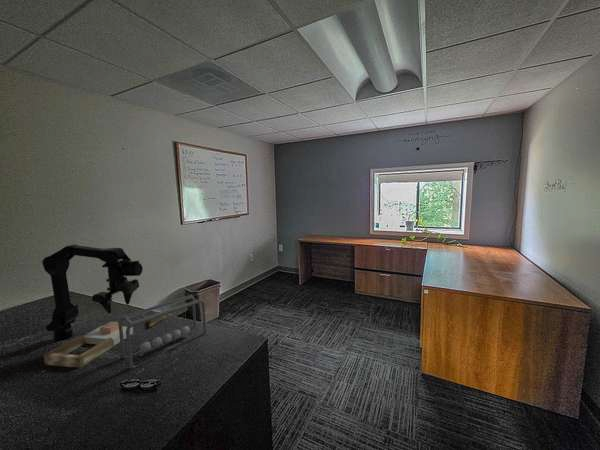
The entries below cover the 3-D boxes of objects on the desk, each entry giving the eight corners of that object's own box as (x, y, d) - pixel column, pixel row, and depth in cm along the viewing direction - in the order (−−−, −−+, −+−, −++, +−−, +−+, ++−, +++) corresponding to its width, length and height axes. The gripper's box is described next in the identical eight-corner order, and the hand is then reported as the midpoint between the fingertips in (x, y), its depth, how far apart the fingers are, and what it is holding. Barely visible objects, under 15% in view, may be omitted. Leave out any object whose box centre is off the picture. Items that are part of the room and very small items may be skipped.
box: (44, 364, 93) (43, 354, 93) (81, 343, 106) (80, 335, 106) (80, 368, 91) (79, 358, 90) (113, 346, 104) (112, 337, 104)
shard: (149, 328, 118) (149, 324, 118) (136, 326, 120) (136, 322, 120) (167, 318, 128) (166, 314, 128) (155, 316, 130) (155, 313, 130)
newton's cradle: (130, 372, 88) (125, 326, 86) (121, 360, 95) (117, 317, 93) (207, 336, 111) (204, 299, 109) (195, 328, 118) (193, 293, 116)
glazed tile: (100, 332, 109) (99, 327, 109) (111, 326, 115) (110, 321, 115) (110, 333, 109) (110, 328, 108) (121, 327, 114) (120, 322, 114)
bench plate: (82, 343, 107) (81, 336, 107) (103, 331, 117) (103, 325, 116) (114, 345, 104) (113, 339, 104) (133, 333, 114) (132, 327, 114)
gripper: (112, 284, 100) (115, 320, 102) (147, 271, 118) (149, 301, 120) (89, 282, 102) (92, 317, 103) (128, 269, 120) (130, 300, 122)
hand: (118, 308), depth 112 cm, fingers open, 9 cm apart
